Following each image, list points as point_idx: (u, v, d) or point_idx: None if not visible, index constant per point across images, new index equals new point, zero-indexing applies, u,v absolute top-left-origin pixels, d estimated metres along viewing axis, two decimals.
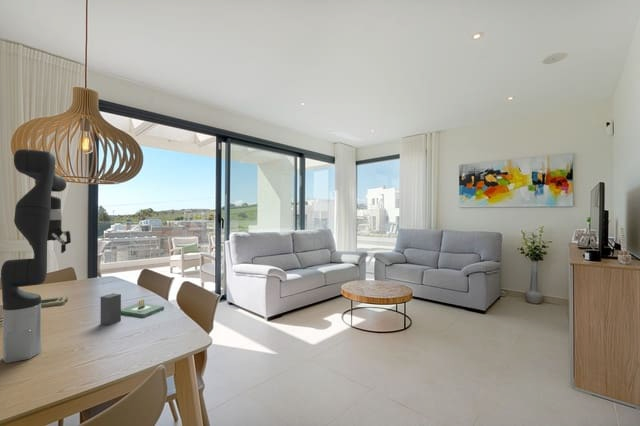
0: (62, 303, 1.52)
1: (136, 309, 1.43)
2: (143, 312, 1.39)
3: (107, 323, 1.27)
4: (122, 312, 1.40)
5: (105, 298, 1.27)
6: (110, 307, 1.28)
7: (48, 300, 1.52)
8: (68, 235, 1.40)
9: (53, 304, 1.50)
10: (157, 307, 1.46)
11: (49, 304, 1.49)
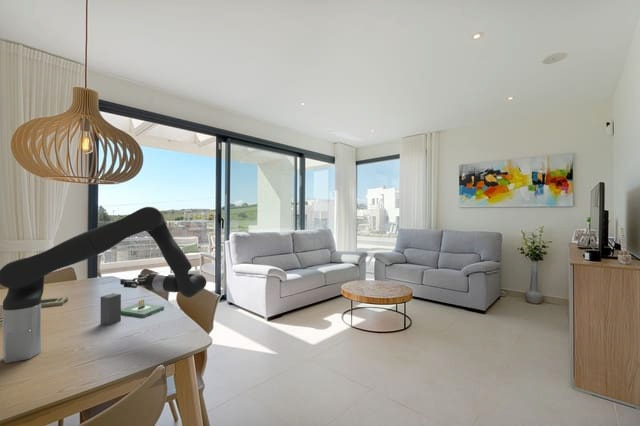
0: (61, 303, 1.51)
1: (136, 309, 1.43)
2: (143, 312, 1.39)
3: (107, 323, 1.27)
4: (122, 312, 1.40)
5: (105, 298, 1.27)
6: (110, 307, 1.28)
7: (48, 300, 1.51)
8: (131, 281, 1.19)
9: (52, 304, 1.50)
10: (157, 307, 1.46)
11: (48, 304, 1.49)
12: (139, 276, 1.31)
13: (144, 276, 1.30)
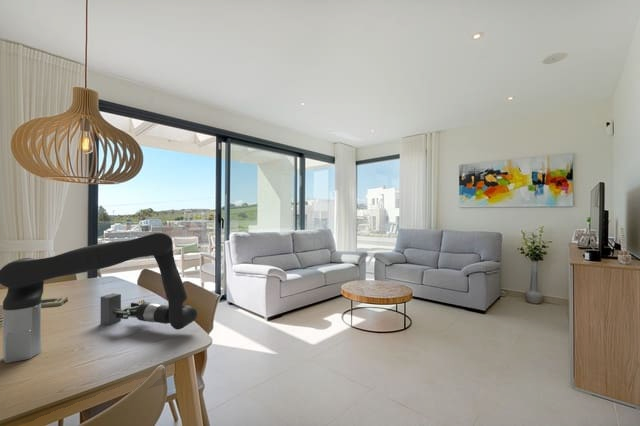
0: (59, 304, 1.51)
1: None
2: None
3: (107, 323, 1.27)
4: None
5: (105, 298, 1.27)
6: (110, 307, 1.28)
7: (47, 300, 1.51)
8: (122, 312, 1.20)
9: (51, 304, 1.50)
10: None
11: (46, 304, 1.49)
12: (132, 304, 1.32)
13: (137, 304, 1.31)
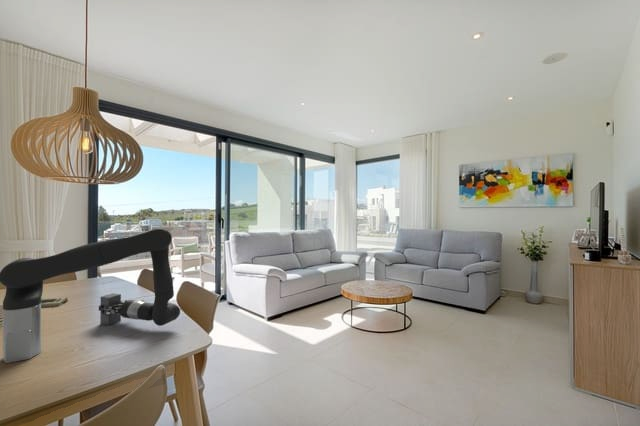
0: (58, 304, 1.50)
1: None
2: None
3: (107, 323, 1.27)
4: None
5: (105, 298, 1.27)
6: None
7: (47, 300, 1.51)
8: (106, 309, 1.23)
9: (49, 305, 1.49)
10: None
11: (45, 304, 1.49)
12: None
13: None
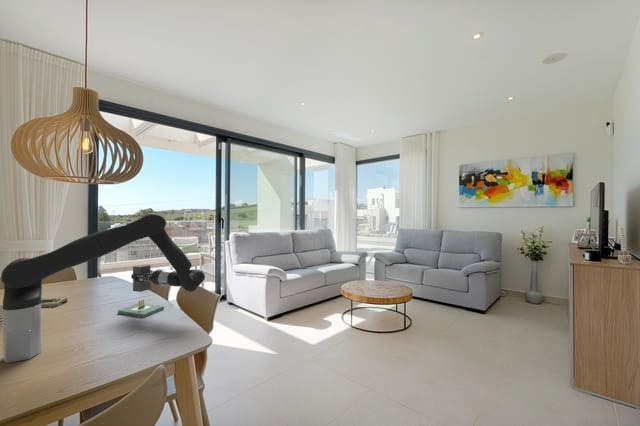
0: (56, 305, 1.49)
1: (136, 309, 1.43)
2: (143, 312, 1.39)
3: (139, 290, 1.41)
4: (122, 312, 1.40)
5: (137, 267, 1.41)
6: None
7: (46, 300, 1.51)
8: (139, 276, 1.37)
9: (48, 305, 1.49)
10: (157, 307, 1.46)
11: (44, 305, 1.48)
12: None
13: None
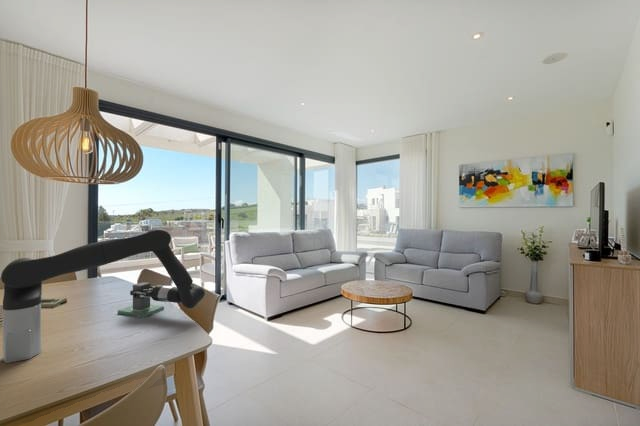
0: (54, 305, 1.48)
1: None
2: (143, 312, 1.39)
3: (139, 308, 1.41)
4: (122, 312, 1.40)
5: (137, 286, 1.42)
6: None
7: (46, 300, 1.51)
8: (139, 293, 1.37)
9: (46, 305, 1.48)
10: (157, 307, 1.46)
11: (42, 305, 1.48)
12: None
13: (150, 287, 1.48)
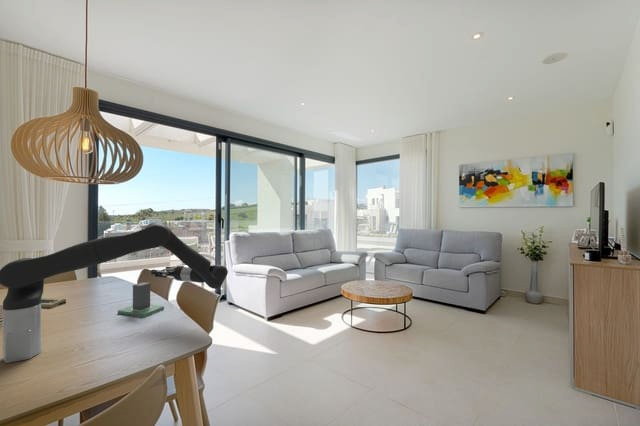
0: (51, 306, 1.47)
1: None
2: (143, 312, 1.39)
3: (139, 308, 1.41)
4: (122, 312, 1.40)
5: (137, 286, 1.42)
6: (141, 294, 1.42)
7: (45, 300, 1.51)
8: (162, 271, 1.33)
9: (44, 306, 1.48)
10: (157, 307, 1.46)
11: (41, 305, 1.48)
12: (166, 268, 1.45)
13: (171, 268, 1.44)
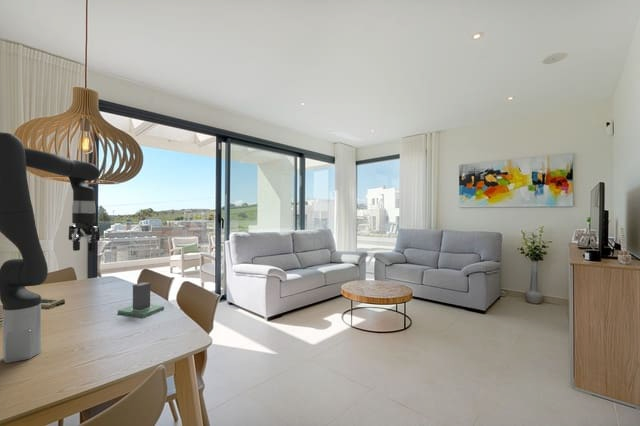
0: (48, 306, 1.47)
1: None
2: (143, 312, 1.39)
3: (139, 308, 1.41)
4: (122, 312, 1.40)
5: (137, 286, 1.42)
6: (141, 294, 1.42)
7: (44, 301, 1.51)
8: (92, 232, 1.18)
9: (42, 306, 1.47)
10: (157, 307, 1.46)
11: None
12: (75, 248, 1.22)
13: (75, 242, 1.21)
